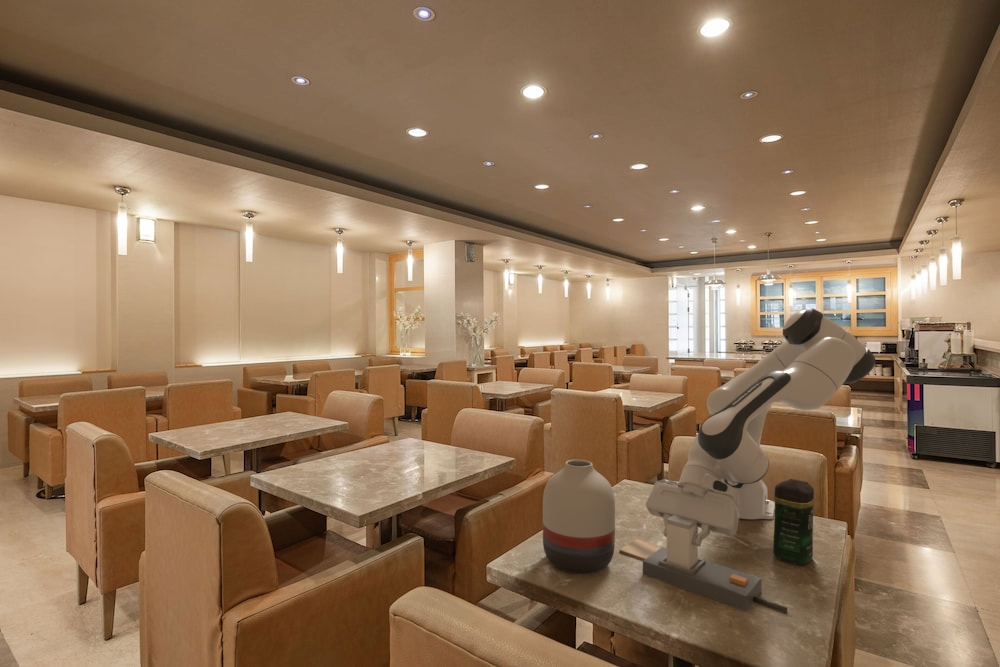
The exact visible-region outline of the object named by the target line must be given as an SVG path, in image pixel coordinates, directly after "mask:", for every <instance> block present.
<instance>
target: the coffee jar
mask: <svg viewBox="0 0 1000 667" xmlns="http://www.w3.org/2000/svg"><path fill="white" fill-rule="evenodd" d="M814 491H815V489H814V487H813V486H812V485H811V484H810V483H809V482H807V481H803V480H798V479H793V478H790V479H788V480H784V481H781V482H779V483H778V484H776V485H775V486H774V496H773V498H774V502H775V511H774V518H773V519H774V521H773V524H774V525H773V526H774V527H773V544H772V545H773V547H772V553H773V556H774V557H775V558H777V559H778V560H781V561H782V562H784V563H787V564H791V565H800V566H805V565H807V564H808V563H810V562H811V560H812V559H813V557H814V556H813V555H814V538H813V537H814V528H813V527H814V507H815V506H814V504H815V494H814V493H815V492H814Z"/></svg>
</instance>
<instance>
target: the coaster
mask: <svg viewBox="0 0 1000 667" xmlns="http://www.w3.org/2000/svg"><path fill="white" fill-rule="evenodd" d="M662 547H663V548H665V547H664V546H661V545H658V544H654V543H651V542H649V541H645V540H642V539H638V538H636V539H634V540H633V541H631V542H630V543H627V544H626V545H624V546H622V547H621V548H619V553H620V554H624V555H626V556H629V557H633V558H635V559H638V560H641V561H643V560H645V559H646V558H648V557H649V556H650V555H652V554H653V553H655V552H656V551H657V550H659V549H660V548H662Z"/></svg>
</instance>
